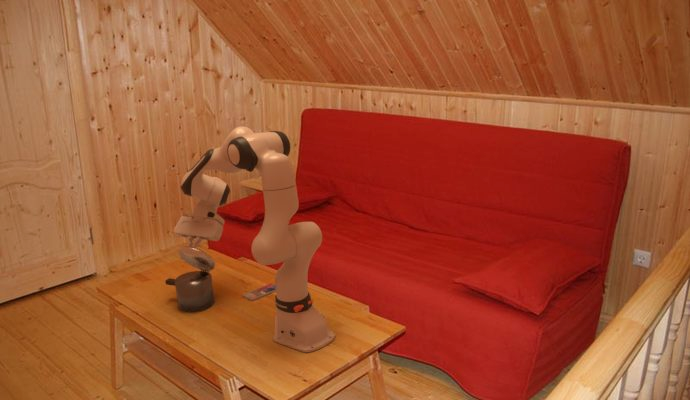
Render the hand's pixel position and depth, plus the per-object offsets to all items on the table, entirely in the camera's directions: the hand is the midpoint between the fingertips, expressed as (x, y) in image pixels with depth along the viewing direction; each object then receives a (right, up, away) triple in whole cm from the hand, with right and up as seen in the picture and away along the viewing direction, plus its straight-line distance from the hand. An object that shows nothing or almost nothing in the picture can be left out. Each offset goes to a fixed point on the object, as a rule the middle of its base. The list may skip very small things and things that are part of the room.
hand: (191, 248), depth 216 cm
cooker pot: (-2, -22, +7) cm, 23 cm away
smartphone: (+26, -20, +13) cm, 35 cm away
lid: (+1, -5, +4) cm, 6 cm away
